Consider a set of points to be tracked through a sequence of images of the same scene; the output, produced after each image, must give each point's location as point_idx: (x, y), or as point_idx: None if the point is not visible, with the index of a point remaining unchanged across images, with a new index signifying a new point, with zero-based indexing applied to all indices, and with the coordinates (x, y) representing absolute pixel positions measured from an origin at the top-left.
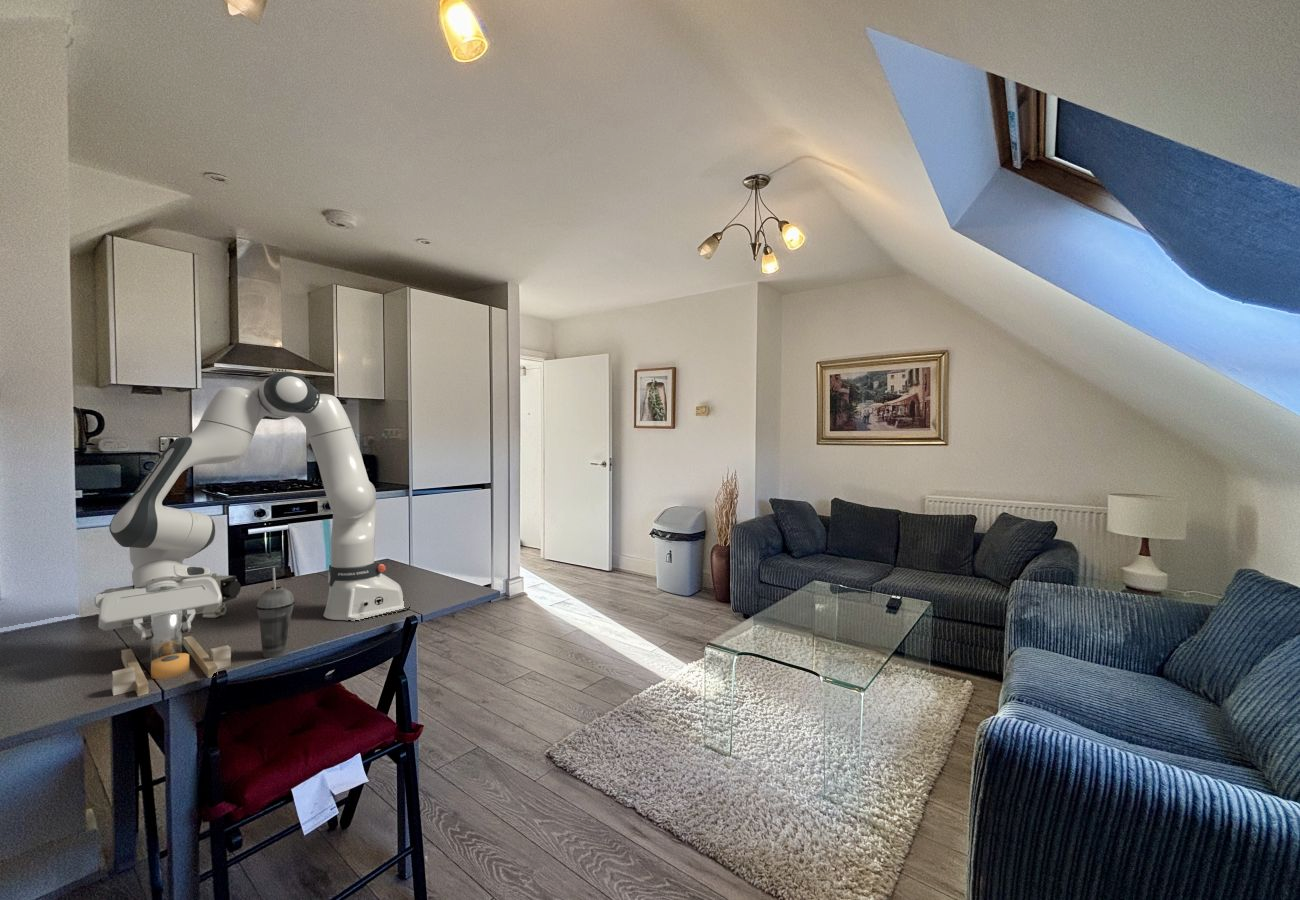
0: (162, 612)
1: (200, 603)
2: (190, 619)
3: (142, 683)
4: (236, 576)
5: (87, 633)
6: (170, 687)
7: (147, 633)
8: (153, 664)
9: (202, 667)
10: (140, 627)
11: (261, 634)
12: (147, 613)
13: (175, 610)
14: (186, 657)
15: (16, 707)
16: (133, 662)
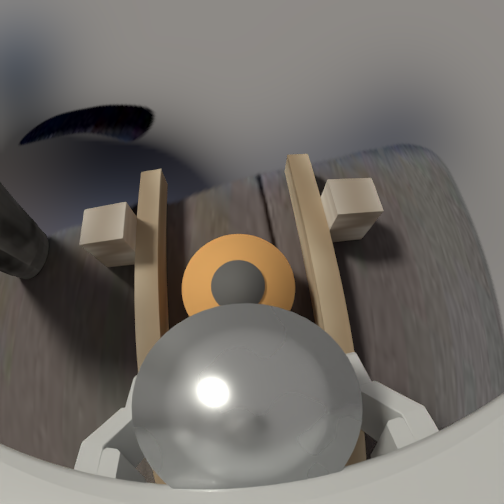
0: (278, 466)
1: (27, 467)
2: (119, 413)
3: (300, 163)
4: None
5: None
6: (243, 179)
7: None
8: (286, 260)
9: (163, 247)
10: (384, 391)
11: (13, 217)
12: (386, 465)
13: (178, 464)
14: (192, 262)
15: (485, 274)
16: None
